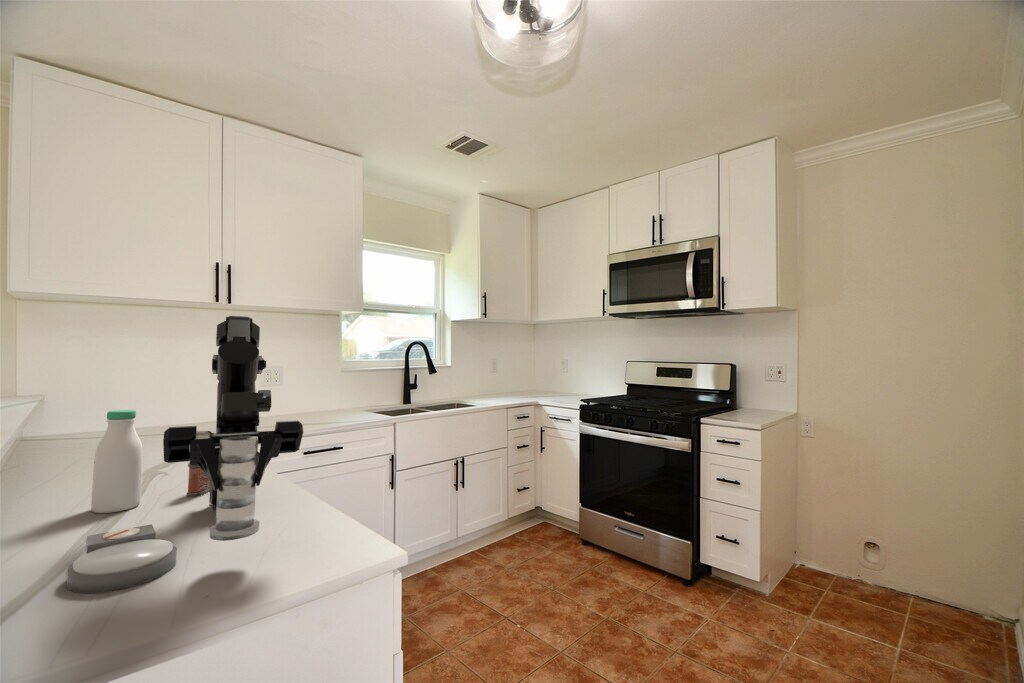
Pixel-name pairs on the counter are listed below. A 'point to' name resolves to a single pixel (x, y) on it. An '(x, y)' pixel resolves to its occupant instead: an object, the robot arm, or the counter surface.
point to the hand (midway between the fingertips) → (237, 486)
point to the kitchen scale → (121, 560)
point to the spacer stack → (236, 489)
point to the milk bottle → (118, 465)
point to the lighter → (197, 482)
